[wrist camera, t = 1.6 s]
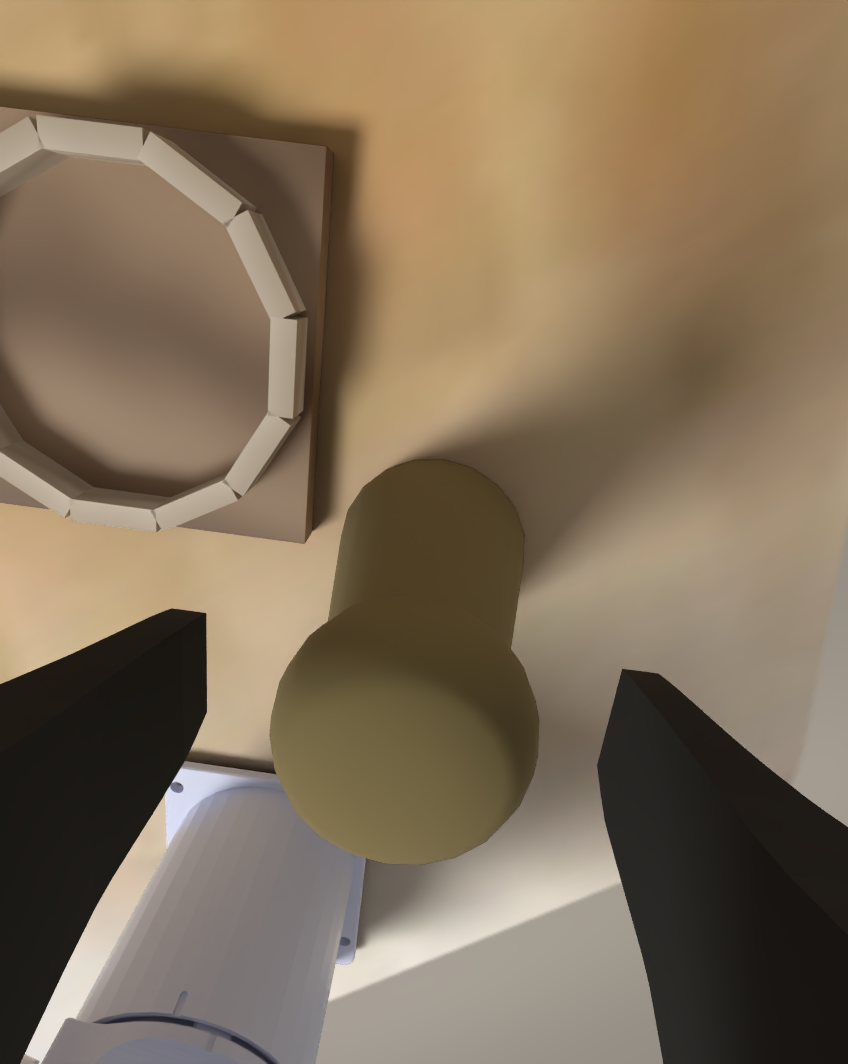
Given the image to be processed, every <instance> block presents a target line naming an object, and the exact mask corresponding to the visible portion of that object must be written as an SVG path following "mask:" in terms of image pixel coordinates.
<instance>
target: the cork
mask: <svg viewBox="0 0 848 1064" xmlns="http://www.w3.org/2000/svg"><path fill="white" fill-rule="evenodd" d="M523 562H524V532H523V529H522V526H521V523H520V520H519V517H518V514H517V511H516V508H515V507H514V505H513V504H512V503H511V502H510V500H509V499H508V498H507V496H506V495H505V494H504V492H503V491H502V490H501V488H500V487H499V486H498V485H497V484H496V483H494V482H493V481H491V480H490V479H488V478H487V477H485V476H484V475H482V474H481V473H480V472H478V471H477V470H475V469H474V468H470V467H467V466H464V465H460V464H457V463H454V462H450V461H447V460H414V461H411V462H408V463H405V464H402V465H399V466H396V467H393V468H390V469H387V470H385V471H384V472H383V473H381V474H380V475H379V476H377V477H376V478H375V479H373V480H372V481H371V482H369V483H368V484H367V485H365V486H364V487H363V488H362V490H361V491H360V493H359V494H358V496H357V497H356V499H355V500H354V502H353V503H352V505H351V506H350V508H349V509H348V512H347V516H346V520H345V523H344V527H343V531H342V535H341V541H340V547H339V554H338V560H337V567H336V573H335V579H334V586H333V592H332V599H331V605H330V611H329V618H328V622H327V623H325V624H324V625H322V626H321V627H320V628H318V629H317V630H316V631H315V632H314V633H312V634H311V635H310V636H309V637H308V638H307V640H306V641H305V642H304V644H303V645H302V647H301V648H300V649H299V651H298V652H297V654H296V655H295V656H294V658H293V659H292V661H291V662H290V664H289V665H288V667H287V669H286V671H285V672H284V674H283V676H282V678H281V680H280V682H279V686H278V690H277V694H276V698H275V703H274V707H273V711H272V715H271V725H270V741H271V748H272V755H273V762H274V769H275V771H276V774H277V776H278V778H279V780H280V783H281V785H282V787H283V789H284V791H285V792H286V794H287V796H288V798H289V800H290V802H291V804H292V806H293V807H294V809H295V811H296V813H297V814H298V815H299V816H300V817H301V818H302V819H303V820H304V821H305V822H306V823H307V824H308V825H309V826H310V827H311V828H312V829H313V830H314V831H315V832H316V833H317V834H318V835H319V836H320V837H322V838H323V839H325V840H327V841H329V842H331V843H332V844H334V845H336V846H338V847H339V848H341V849H343V850H345V851H347V852H348V853H350V854H353V855H356V856H360V857H364V858H367V859H371V860H375V861H378V862H382V863H385V864H413V865H423V864H428V863H432V862H437V861H442V860H446V859H451V858H456V857H458V856H460V855H461V854H463V853H465V852H467V851H469V850H471V849H473V848H475V847H477V846H479V845H481V844H482V843H484V842H486V841H487V840H488V839H489V838H490V837H491V836H492V835H493V834H494V833H495V832H496V831H497V830H498V829H499V828H500V827H501V826H502V825H503V824H504V823H505V822H506V821H507V820H508V818H509V817H510V816H511V815H512V814H513V813H514V812H515V810H516V809H517V808H518V807H519V806H520V804H521V802H522V799H523V797H524V795H525V793H526V790H527V788H528V786H529V784H530V782H531V779H532V777H533V775H534V771H535V766H536V762H537V757H538V738H539V717H538V711H537V706H536V701H535V698H534V695H533V693H532V690H531V687H530V684H529V681H528V678H527V676H526V673H525V670H524V667H523V666H522V664H521V663H520V661H519V660H518V658H517V657H516V655H515V654H514V653H513V652H512V650H511V645H512V638H513V631H514V624H515V617H516V610H517V603H518V597H519V590H520V583H521V576H522V569H523Z"/></svg>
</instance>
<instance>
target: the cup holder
mask: <svg viewBox="0 0 848 1064" xmlns="http://www.w3.org/2000/svg"><path fill="white" fill-rule="evenodd" d="M333 161H334V153H333V152H332V151H331V150H329V149H328V148H327V147H326V146H318V145H310V144H302V143H293V142H285V141H277V140H269V139H261V138H252V137H244V136H236V135H228V134H220V133H211V132H203V131H195V130H187V129H179V128H170V127H162V126H154V125H146V124H138V123H129V122H121V121H113V120H105V119H97V118H89V117H80V116H72V115H64V114H56V113H48V112H39V111H31V110H23V109H15V108H7V107H0V503H6V504H14V505H21V506H29V507H36V508H43V509H51V510H52V511H54V512H55V513H57V514H58V515H60V516H61V517H63V518H66V517H67V516H69V515H70V516H71V521H76V522H83V523H90V524H98V525H105V526H113V527H120V528H127V529H135V530H142V531H149V532H158V531H159V530H160V529H162V531H166V530H168V529H171V528H173V527H175V526H176V527H184V528H191V529H198V530H206V531H213V532H221V533H228V534H235V535H243V536H250V537H257V538H265V539H272V540H280V541H287V542H294V543H302V544H305V542H306V541H307V539H308V538H309V536H310V535H311V533H312V521H313V503H314V486H315V469H316V452H317V435H318V418H319V401H320V384H321V367H322V349H323V332H324V315H325V298H326V281H327V264H328V247H329V230H330V213H331V195H332V178H333Z"/></svg>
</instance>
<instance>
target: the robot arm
mask: <svg viewBox="0 0 848 1064" xmlns="http://www.w3.org/2000/svg"><path fill="white" fill-rule="evenodd" d="M206 713H207V652H206V613H201V612H194V611H187V610H179V609H169V610H166V611H164V612H161V613H159V614H156V615H154V616H152V617H149V618H147V619H145V620H143V621H141V622H138V623H136V624H134V625H132V626H130V627H128V628H126V629H124V630H122V631H119V632H117V633H115V634H113V635H111V636H109V637H107V638H105V639H103V640H100V641H98V642H96V643H94V644H92V645H90V646H88V647H85V648H83V649H81V650H79V651H77V652H75V653H73V654H71V655H68V656H66V657H64V658H61V659H59V660H57V661H54V662H52V663H50V664H47V665H45V666H43V667H40V668H38V669H35V670H33V671H31V672H28V673H26V674H24V675H21V676H19V677H17V678H14V679H12V680H10V681H7V682H5V683H2V684H0V1064H39V1061H38V1060H36V1059H34V1058H32V1057H29V1056H27V1055H25V1052H26V1050H27V1048H28V1045H29V1043H30V1041H31V1039H32V1037H33V1035H34V1033H35V1031H36V1028H37V1026H38V1024H39V1022H40V1020H41V1018H42V1016H43V1014H44V1012H45V1009H46V1007H47V1005H48V1003H49V1001H50V999H51V997H52V995H53V993H54V990H55V988H56V986H57V984H58V982H59V980H60V978H61V976H62V974H63V971H64V969H65V967H66V965H67V963H68V961H69V959H70V957H71V955H72V953H73V951H74V949H75V947H76V945H77V943H78V941H79V939H80V937H81V935H82V933H83V931H84V929H85V927H86V925H87V923H88V921H89V919H90V917H91V915H92V913H93V911H94V909H95V907H96V906H97V904H98V902H99V900H100V899H101V897H102V895H103V893H104V892H105V890H106V888H107V886H108V885H109V883H110V881H111V879H112V878H113V876H114V874H115V873H116V871H117V870H118V868H119V866H120V865H121V863H122V862H123V860H124V859H125V857H126V855H127V854H128V852H129V851H130V849H131V847H132V846H133V844H134V843H135V841H136V839H137V838H138V836H139V835H140V833H141V831H142V830H143V828H144V827H145V825H146V823H147V822H148V820H149V819H150V817H151V816H152V814H153V812H154V811H155V809H156V808H157V806H158V804H159V803H160V801H161V800H162V798H163V796H164V795H165V808H166V836H167V850H166V852H165V853H164V855H163V857H162V859H161V861H160V863H159V865H158V866H157V868H156V870H155V872H154V874H153V876H152V878H151V879H150V881H149V883H148V885H147V887H146V889H145V891H144V892H143V894H142V896H141V898H140V900H139V902H138V904H137V906H136V907H135V909H134V911H133V913H132V915H131V917H130V919H129V920H128V922H127V924H126V926H125V928H124V930H123V932H122V933H121V935H120V937H119V939H118V941H117V943H116V945H115V947H114V948H113V950H112V952H111V954H110V956H109V958H108V960H107V961H106V963H105V965H104V967H103V969H102V971H101V973H100V974H99V976H98V978H97V980H96V982H95V984H94V986H93V988H92V989H91V991H90V993H89V995H88V997H87V999H86V1001H85V1002H84V1004H83V1006H82V1008H81V1010H80V1012H79V1014H78V1015H77V1017H76V1019H74V1018H68V1019H66V1020H65V1021H64V1023H63V1025H62V1027H61V1029H60V1030H59V1032H58V1034H57V1036H56V1038H55V1040H54V1041H53V1043H52V1045H51V1047H50V1049H49V1050H48V1052H47V1054H46V1056H45V1058H44V1060H43V1061H42V1063H41V1064H315V1063H316V1058H317V1053H318V1048H319V1043H320V1038H321V1033H322V1028H323V1022H324V1018H325V1013H326V1007H327V1003H328V998H329V993H330V988H331V983H332V978H333V973H334V968H335V964H338V965H348V964H350V963H352V962H353V960H354V957H355V951H356V943H357V934H358V925H359V916H360V907H361V898H362V890H363V881H364V872H365V863H366V858H364V857H360V856H356V855H353V854H350V853H348V852H347V851H345V850H343V849H341V848H339V847H338V846H336V845H334V844H332V843H331V842H329V841H327V840H325V839H323V838H322V837H320V836H319V835H318V834H317V833H316V832H315V831H314V830H313V829H312V828H311V827H310V826H309V825H308V824H307V823H306V822H305V821H304V820H303V819H302V818H301V817H300V816H299V815H298V814H297V813H296V811H295V809H294V807H293V806H292V804H291V802H290V800H289V798H288V796H287V794H286V792H285V791H284V789H283V787H282V785H281V783H280V780H279V778H278V776H277V774H271V773H264V772H257V771H250V770H243V769H236V768H229V767H222V766H215V765H208V764H201V763H194V762H187V761H185V760H186V758H187V755H188V753H189V751H190V749H191V747H192V745H193V743H194V740H195V738H196V736H197V734H198V731H199V729H200V727H201V724H202V722H203V720H204V717H205V715H206ZM597 768H598V775H599V783H600V791H601V799H602V805H603V812H604V818H605V823H606V827H607V831H608V834H609V838H610V842H611V845H612V849H613V853H614V856H615V860H616V864H617V867H618V871H619V874H620V878H621V882H622V885H623V889H624V892H625V896H626V899H627V903H628V906H629V910H630V913H631V917H632V921H633V924H634V928H635V931H636V935H637V938H638V942H639V945H640V949H641V953H642V957H643V961H644V965H645V969H646V973H647V977H648V982H649V986H650V991H651V997H652V1002H653V1007H654V1014H655V1019H656V1025H657V1030H658V1036H659V1041H660V1047H661V1052H662V1058H663V1064H848V827H847V826H845V825H844V824H842V823H841V822H840V821H838V820H836V819H835V818H834V817H832V816H831V815H829V814H828V813H826V812H825V811H824V810H822V809H821V808H820V807H818V806H817V805H816V804H814V803H813V802H811V801H810V800H808V799H807V798H806V797H805V796H803V795H802V794H801V793H800V792H798V791H797V790H796V789H794V788H793V787H792V786H791V785H789V784H788V783H787V782H786V781H784V780H783V779H782V778H780V777H779V776H778V775H777V774H775V773H774V772H773V771H772V770H770V769H769V768H768V767H767V766H765V765H764V764H763V763H762V762H761V761H759V760H758V759H757V758H756V757H755V756H753V755H752V754H751V753H750V752H749V751H747V750H746V749H745V748H744V747H743V746H742V745H740V744H739V743H738V742H737V741H736V740H735V739H733V738H732V737H731V736H730V735H729V734H728V733H727V732H725V731H724V730H723V729H722V728H721V727H720V726H719V725H717V724H716V723H715V722H714V721H713V720H712V719H711V718H710V717H708V716H707V715H706V714H705V713H704V712H703V711H702V710H701V709H700V708H698V707H697V706H696V705H695V704H694V703H693V702H692V701H691V700H689V699H688V698H687V697H686V696H685V695H684V694H683V693H681V692H680V691H679V690H678V689H677V688H676V687H675V686H673V685H672V684H671V683H670V682H669V681H667V680H666V679H665V678H663V677H662V676H661V675H659V674H657V673H650V672H642V671H635V670H627V669H622V672H621V676H620V680H619V684H618V687H617V691H616V695H615V699H614V703H613V707H612V710H611V714H610V718H609V722H608V726H607V730H606V734H605V737H604V741H603V745H602V749H601V753H600V757H599V760H598V764H597ZM176 782H178V783H181V784H182V786H181V785H178V784H177V783H176Z"/></svg>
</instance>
